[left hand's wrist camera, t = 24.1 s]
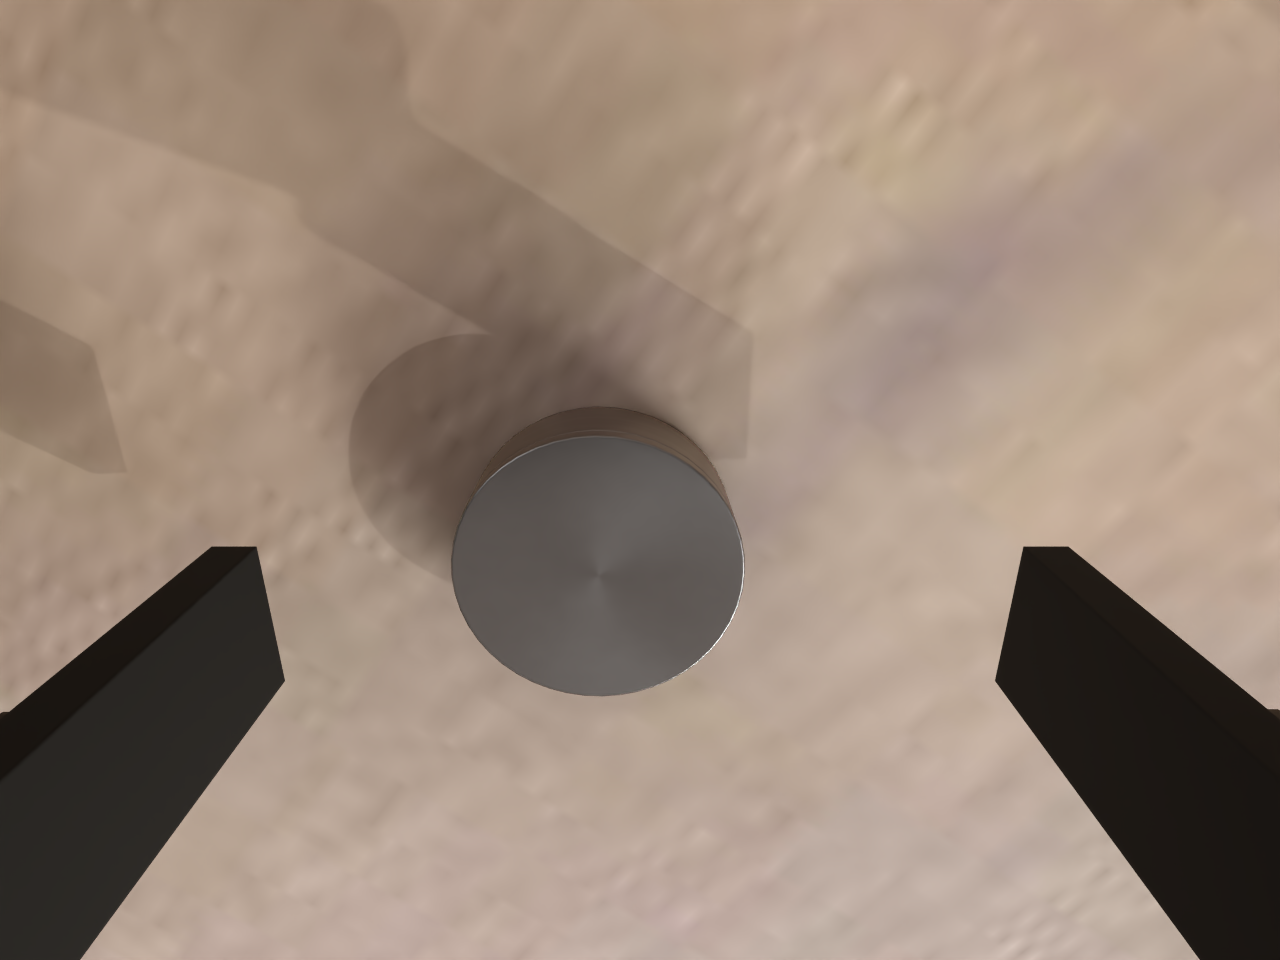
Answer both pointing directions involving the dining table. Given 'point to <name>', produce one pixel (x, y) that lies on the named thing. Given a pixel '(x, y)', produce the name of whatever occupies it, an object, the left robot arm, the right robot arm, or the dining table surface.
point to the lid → (598, 553)
